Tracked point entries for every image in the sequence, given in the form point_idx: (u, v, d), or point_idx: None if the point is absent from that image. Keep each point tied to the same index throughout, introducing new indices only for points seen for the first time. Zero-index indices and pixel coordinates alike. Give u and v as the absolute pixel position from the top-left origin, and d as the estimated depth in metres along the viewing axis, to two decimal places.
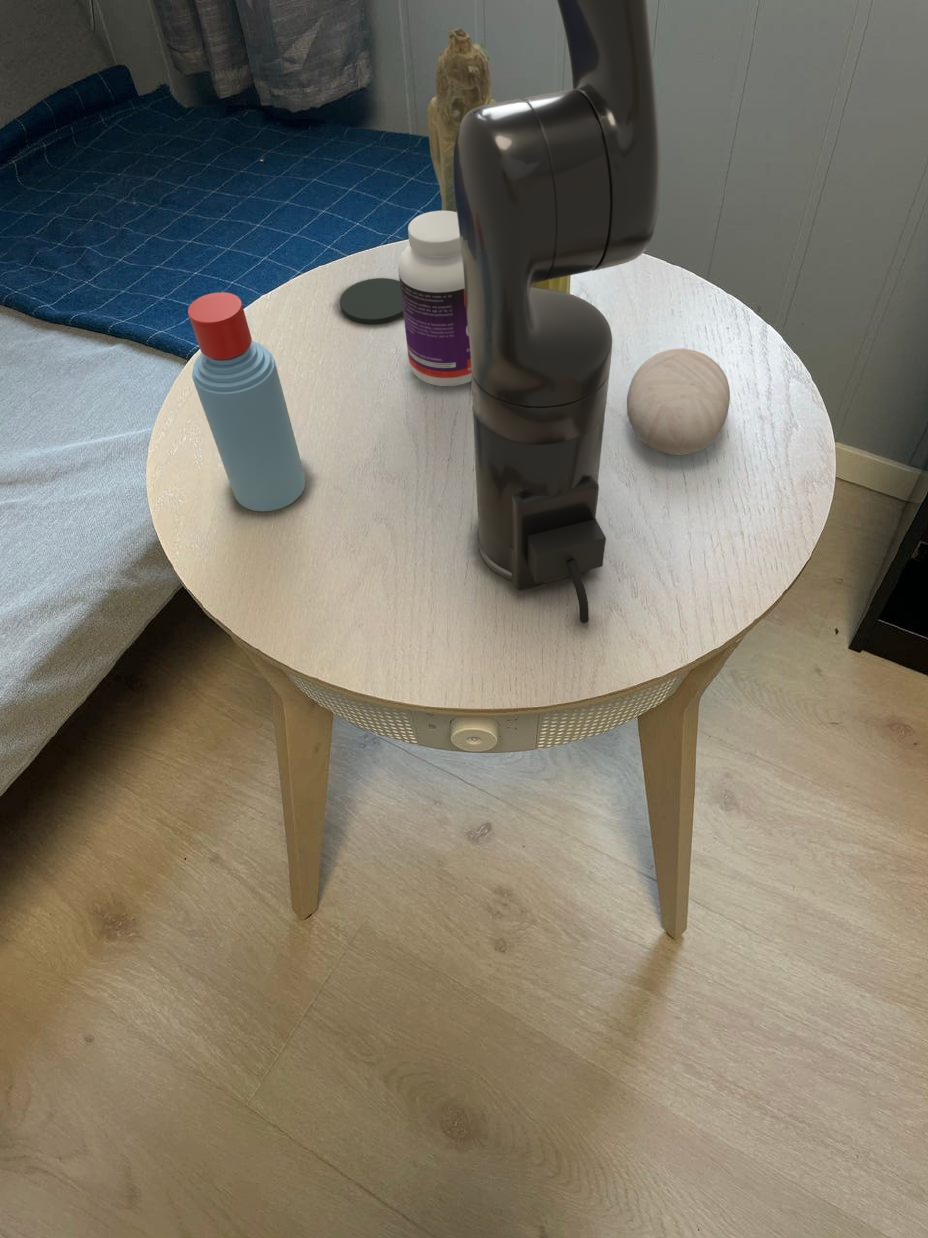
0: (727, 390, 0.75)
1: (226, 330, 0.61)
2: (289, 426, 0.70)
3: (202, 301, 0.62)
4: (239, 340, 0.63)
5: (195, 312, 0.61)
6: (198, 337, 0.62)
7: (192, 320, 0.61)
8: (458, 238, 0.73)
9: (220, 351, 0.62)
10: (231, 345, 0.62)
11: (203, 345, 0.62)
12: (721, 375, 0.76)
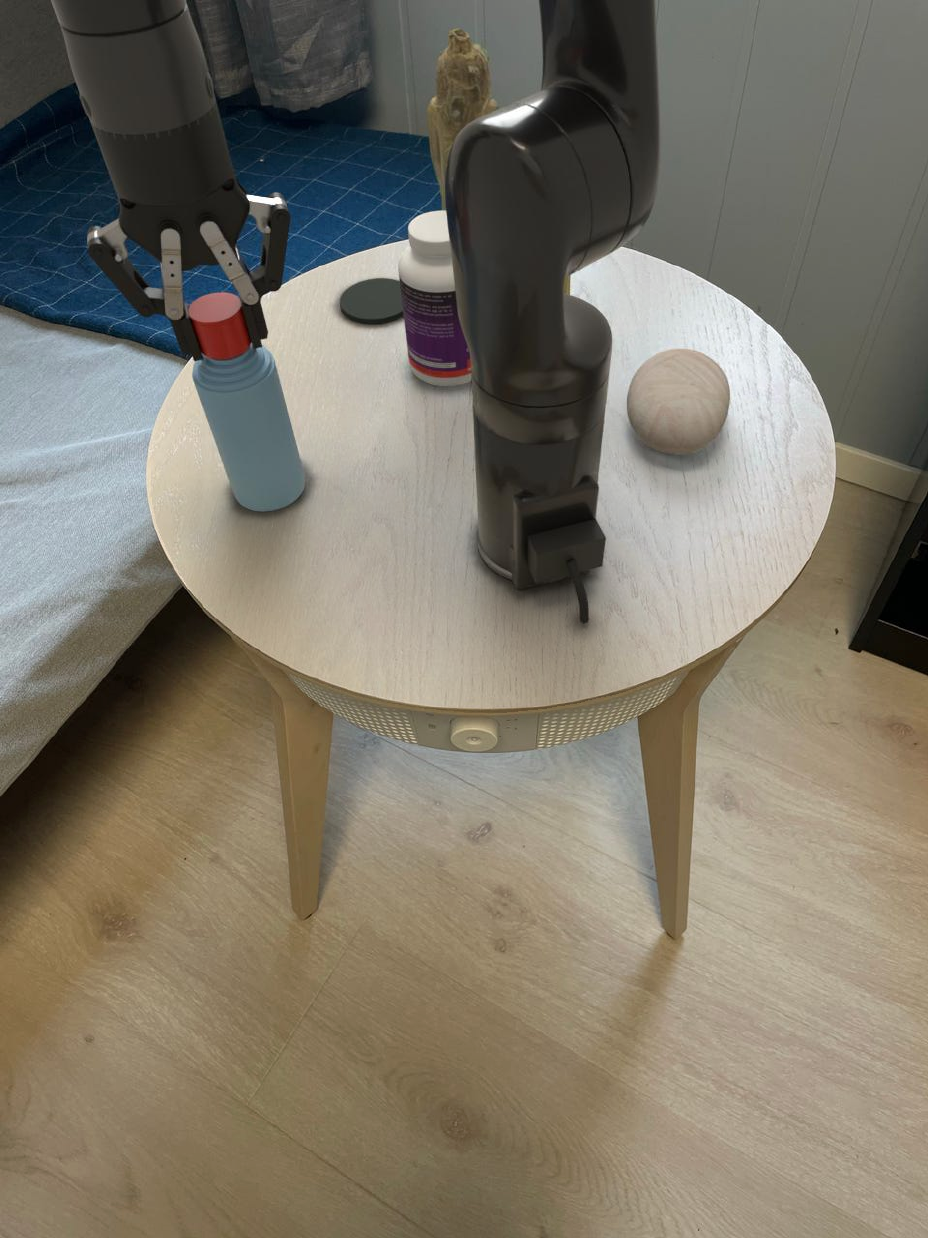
0: (727, 390, 0.75)
1: (226, 330, 0.61)
2: (289, 426, 0.70)
3: (202, 301, 0.62)
4: (239, 340, 0.63)
5: (195, 312, 0.61)
6: (198, 337, 0.62)
7: (192, 320, 0.61)
8: None
9: (220, 351, 0.62)
10: (231, 345, 0.62)
11: (203, 345, 0.62)
12: (721, 375, 0.76)
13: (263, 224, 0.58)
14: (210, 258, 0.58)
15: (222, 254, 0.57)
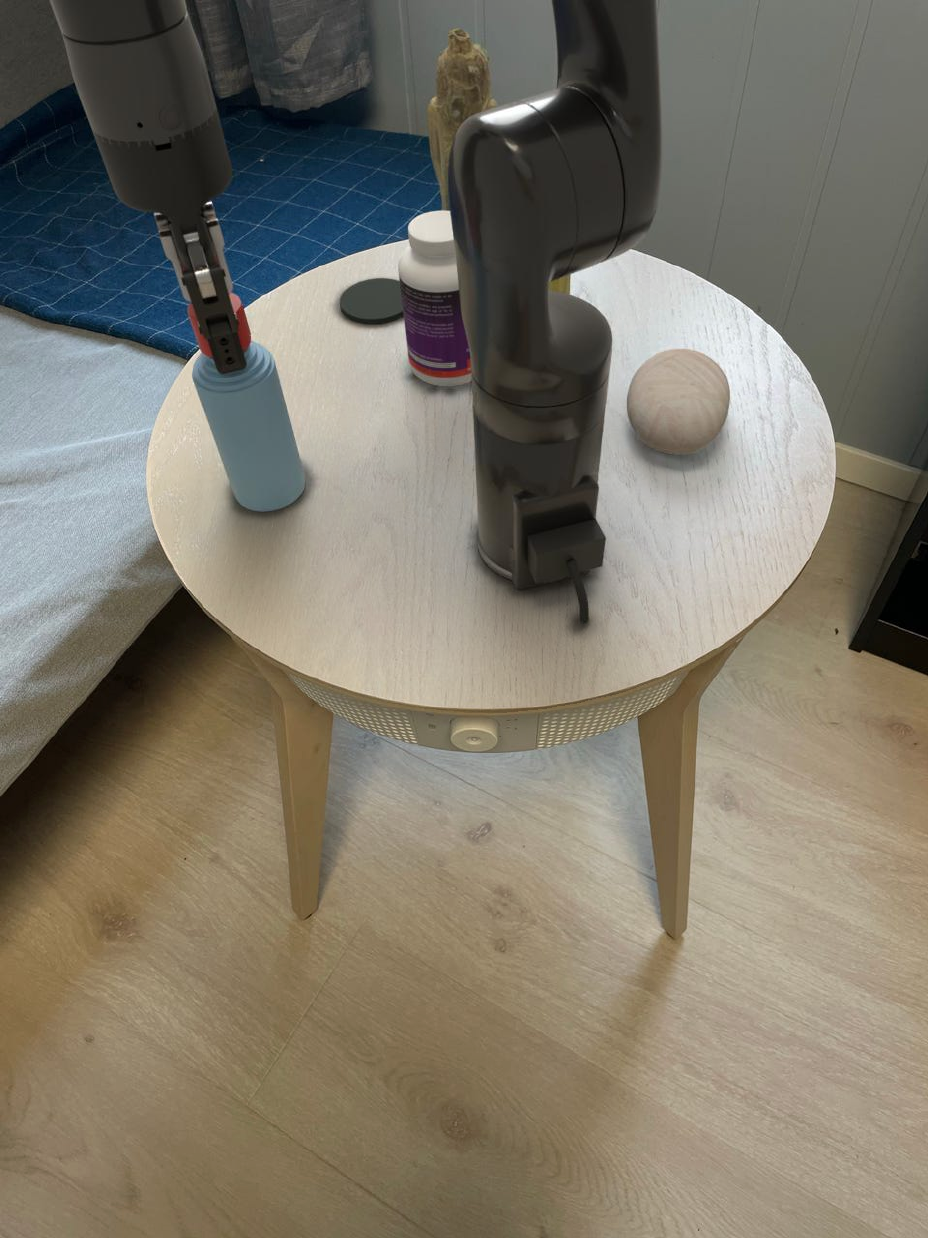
0: (727, 390, 0.75)
1: None
2: (289, 426, 0.70)
3: None
4: None
5: None
6: None
7: None
8: None
9: (248, 332, 0.64)
10: None
11: (241, 338, 0.63)
12: (721, 375, 0.76)
13: None
14: None
15: None
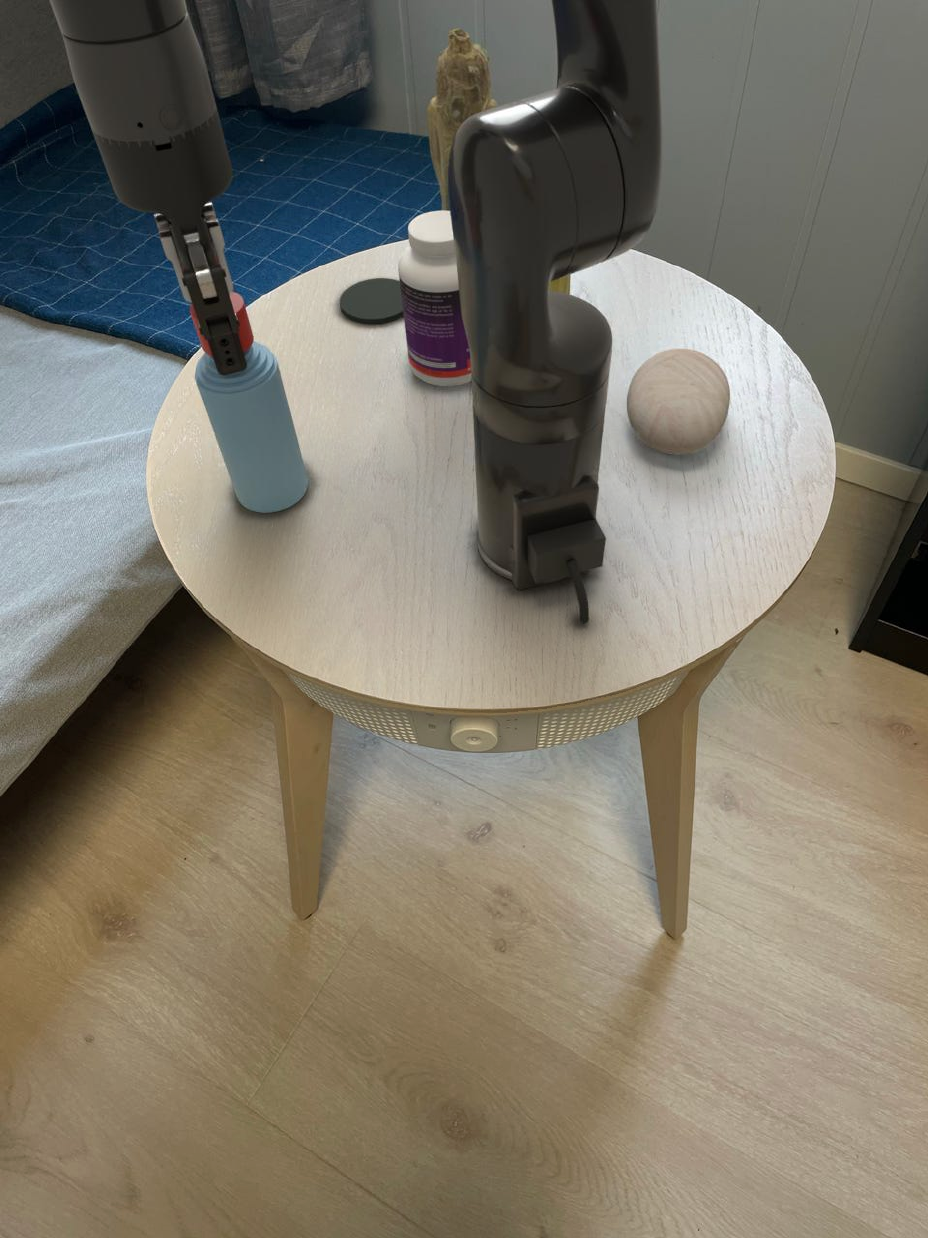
0: (727, 390, 0.75)
1: None
2: (292, 427, 0.70)
3: None
4: None
5: (235, 298, 0.62)
6: None
7: None
8: None
9: None
10: None
11: None
12: (721, 375, 0.76)
13: None
14: None
15: None
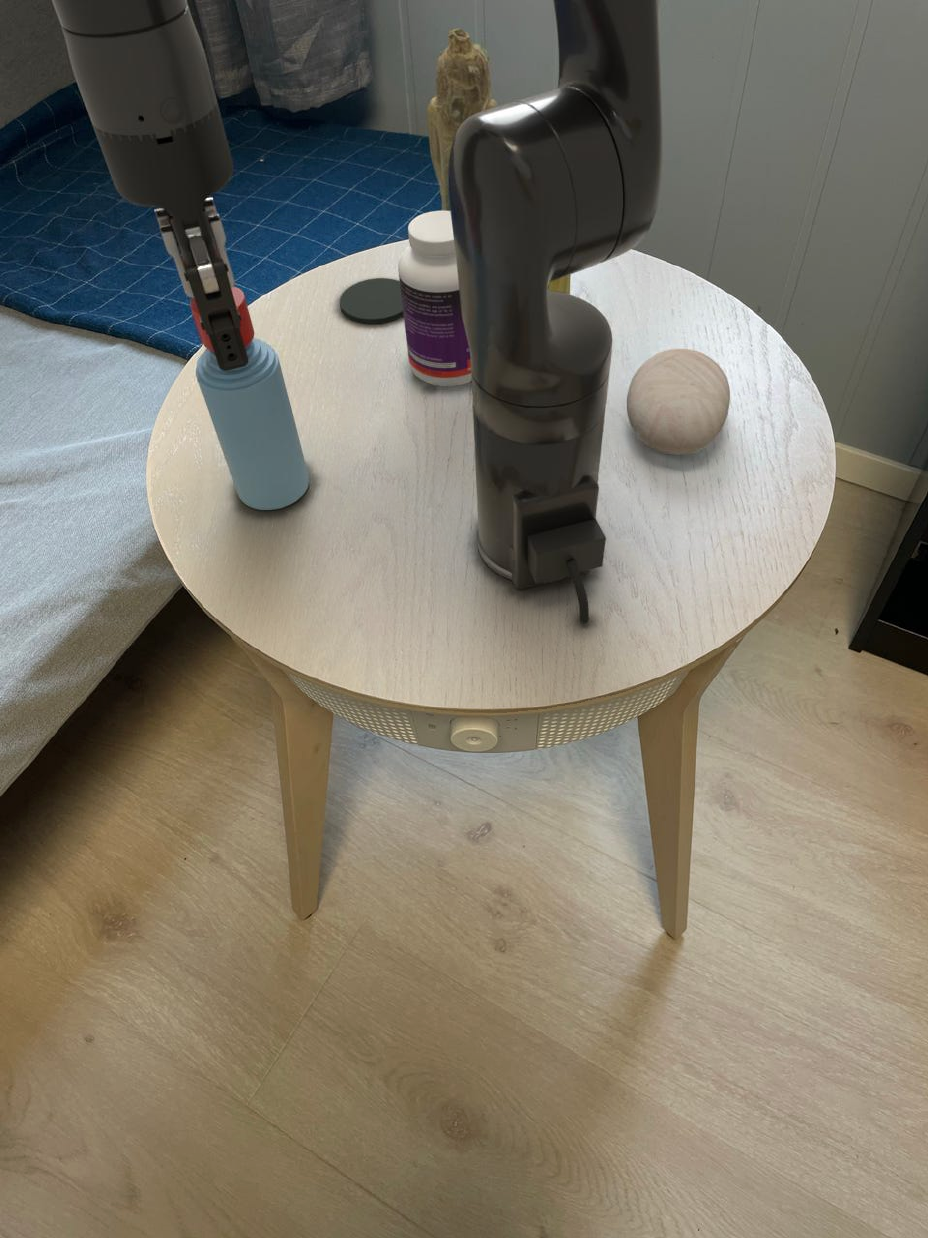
0: (727, 390, 0.75)
1: (196, 320, 0.61)
2: (293, 424, 0.70)
3: None
4: (208, 339, 0.62)
5: None
6: None
7: None
8: None
9: (200, 333, 0.63)
10: (201, 336, 0.62)
11: None
12: (721, 375, 0.76)
13: None
14: None
15: None
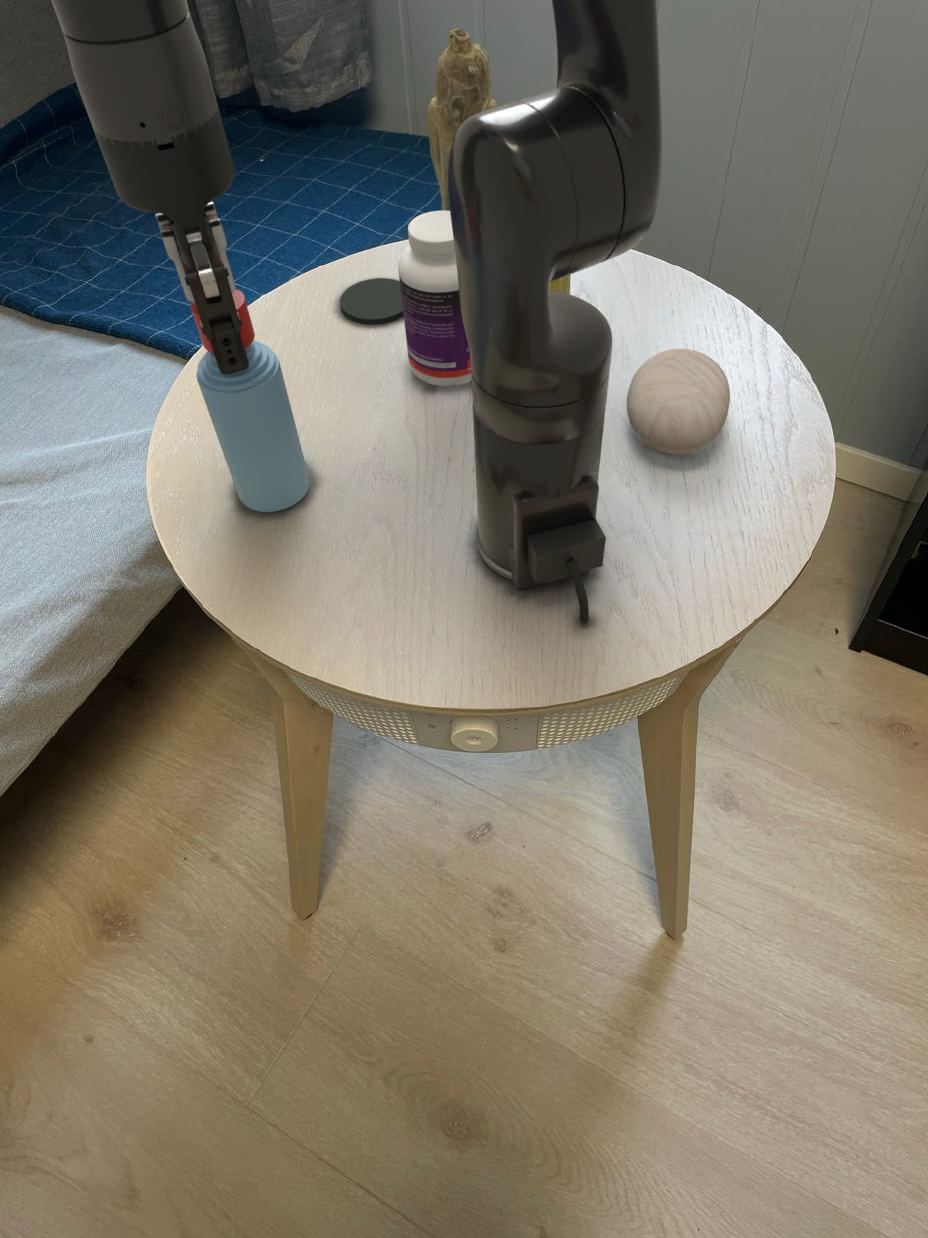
0: (727, 390, 0.75)
1: None
2: (293, 426, 0.70)
3: None
4: (246, 332, 0.62)
5: None
6: (205, 334, 0.62)
7: (198, 317, 0.61)
8: None
9: None
10: None
11: None
12: (721, 375, 0.76)
13: None
14: None
15: None
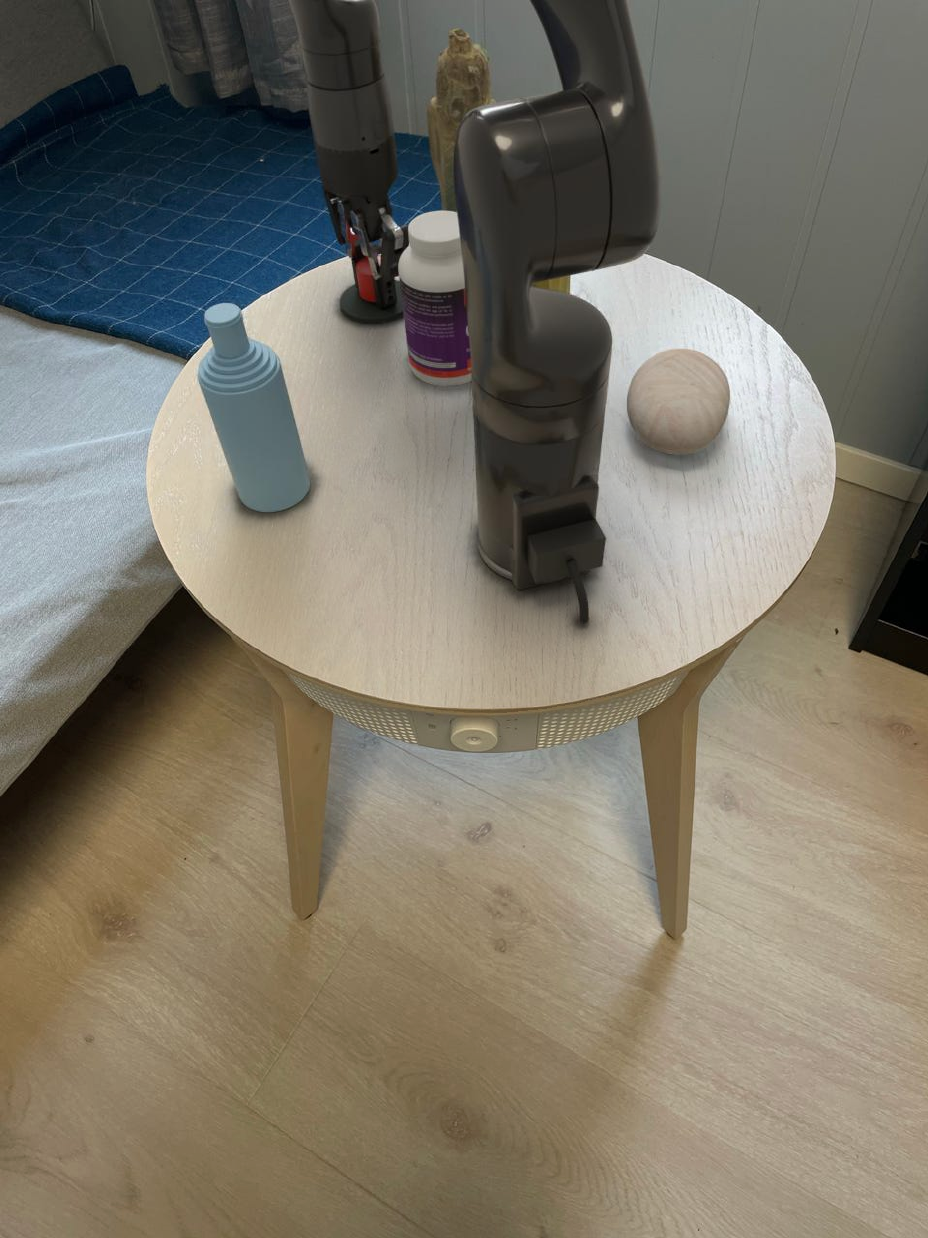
0: (727, 390, 0.75)
1: None
2: (294, 427, 0.70)
3: (371, 272, 0.89)
4: None
5: None
6: None
7: None
8: (458, 238, 0.73)
9: None
10: None
11: None
12: (721, 375, 0.76)
13: None
14: None
15: None
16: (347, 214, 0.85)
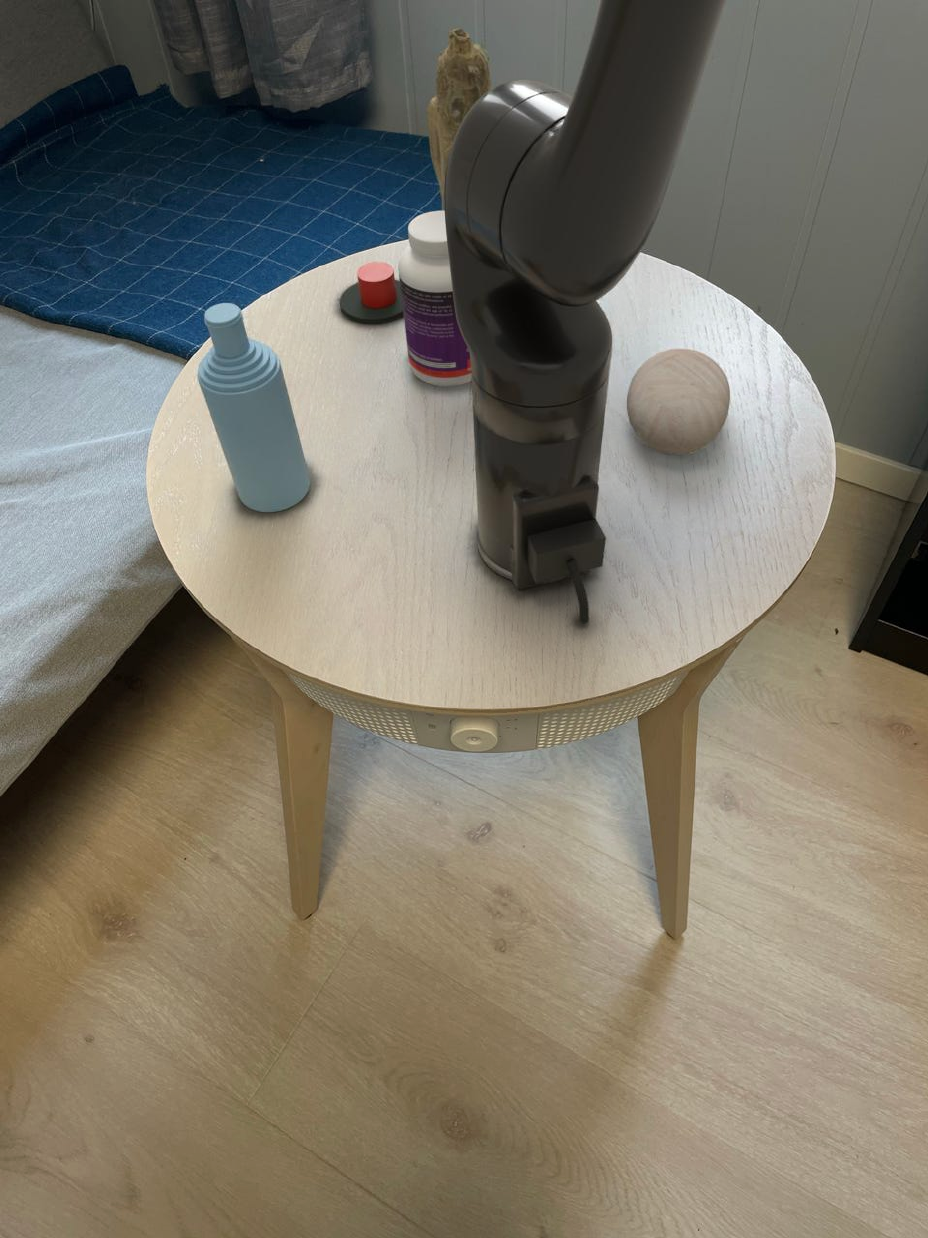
0: (727, 390, 0.75)
1: None
2: (294, 427, 0.70)
3: (372, 278, 0.89)
4: None
5: (385, 275, 0.89)
6: (394, 287, 0.91)
7: (392, 275, 0.90)
8: None
9: None
10: None
11: (395, 290, 0.91)
12: (721, 375, 0.76)
13: None
14: None
15: None
16: None
